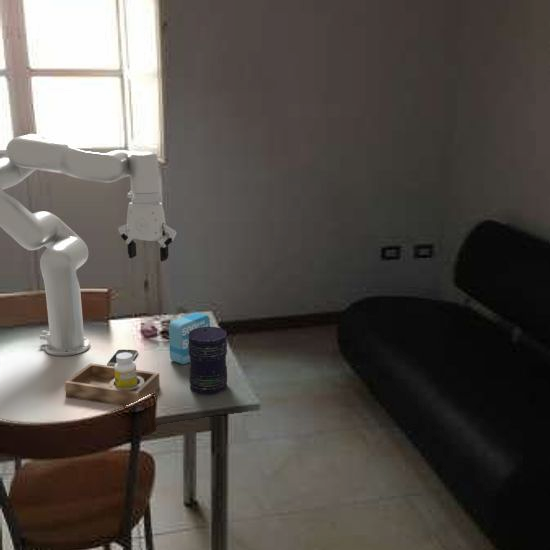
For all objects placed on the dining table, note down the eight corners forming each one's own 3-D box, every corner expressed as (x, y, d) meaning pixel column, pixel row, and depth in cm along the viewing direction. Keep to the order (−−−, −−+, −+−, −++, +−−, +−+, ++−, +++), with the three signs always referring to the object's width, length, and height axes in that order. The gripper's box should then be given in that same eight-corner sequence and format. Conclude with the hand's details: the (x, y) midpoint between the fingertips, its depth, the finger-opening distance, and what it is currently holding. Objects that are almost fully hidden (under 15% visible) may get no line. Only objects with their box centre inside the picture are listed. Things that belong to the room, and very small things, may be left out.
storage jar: (231, 393, 168) (230, 338, 164) (193, 398, 166) (191, 343, 161) (223, 376, 178) (222, 324, 173) (186, 381, 175) (185, 328, 171)
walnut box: (65, 396, 166) (64, 382, 164) (91, 376, 177) (90, 363, 175) (137, 408, 160) (137, 393, 159) (159, 387, 171) (159, 373, 170)
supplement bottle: (117, 386, 170) (114, 351, 167) (138, 385, 170) (136, 350, 167) (114, 396, 164) (112, 360, 162) (136, 395, 165) (134, 359, 162)
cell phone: (139, 354, 192) (139, 349, 192) (127, 370, 182) (127, 366, 181) (118, 353, 193) (118, 348, 192) (106, 369, 182) (105, 364, 182)
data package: (180, 366, 184) (179, 326, 180) (169, 361, 186) (168, 322, 183) (210, 352, 193) (210, 314, 189) (199, 348, 195) (198, 310, 192)
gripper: (110, 198, 178) (113, 259, 183) (168, 202, 174) (170, 264, 179) (123, 193, 185) (127, 252, 190) (180, 197, 181) (182, 257, 186)
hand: (148, 258), depth 185 cm, fingers open, 9 cm apart
